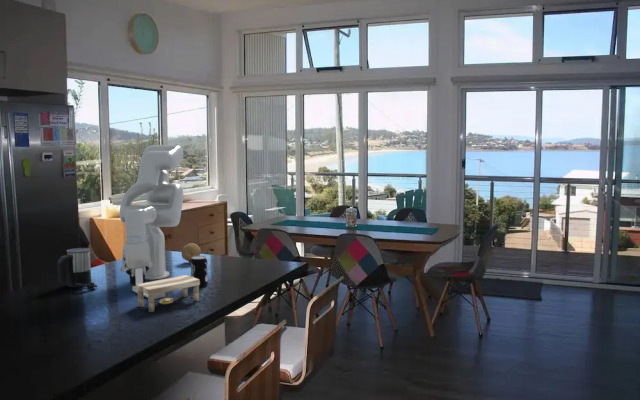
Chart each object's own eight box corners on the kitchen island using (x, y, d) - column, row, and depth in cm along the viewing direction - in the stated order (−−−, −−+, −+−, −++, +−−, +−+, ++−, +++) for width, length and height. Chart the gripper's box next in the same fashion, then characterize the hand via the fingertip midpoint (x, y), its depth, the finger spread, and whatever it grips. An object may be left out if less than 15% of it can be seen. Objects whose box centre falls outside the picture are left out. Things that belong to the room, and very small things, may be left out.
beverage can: (203, 288, 218) (203, 259, 217) (188, 287, 219) (187, 258, 218) (210, 284, 224) (209, 255, 223) (195, 283, 226) (194, 255, 224)
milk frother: (77, 281, 229) (76, 247, 227) (111, 283, 225) (109, 248, 224) (54, 290, 215) (52, 253, 213) (89, 292, 211) (87, 255, 210)
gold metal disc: (156, 303, 199) (156, 299, 199) (169, 300, 203) (169, 297, 203) (163, 305, 196) (163, 302, 196) (176, 303, 199) (175, 299, 199)
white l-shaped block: (129, 290, 215) (128, 268, 214) (143, 287, 219) (142, 265, 218) (150, 299, 202) (149, 276, 201) (165, 296, 206) (164, 273, 205)
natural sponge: (192, 266, 256) (192, 245, 255) (177, 264, 260) (177, 244, 259) (204, 262, 264) (204, 242, 263) (189, 260, 268) (189, 240, 267)
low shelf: (137, 306, 194) (136, 284, 194) (186, 295, 208) (185, 274, 208) (150, 312, 187) (149, 289, 186) (200, 300, 201) (199, 279, 200)
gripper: (150, 235, 222) (152, 279, 224) (111, 240, 210) (113, 286, 212) (159, 237, 216) (161, 282, 219) (120, 243, 205) (122, 290, 207)
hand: (137, 284), depth 215 cm, fingers closed on white l-shaped block, 3 cm apart
